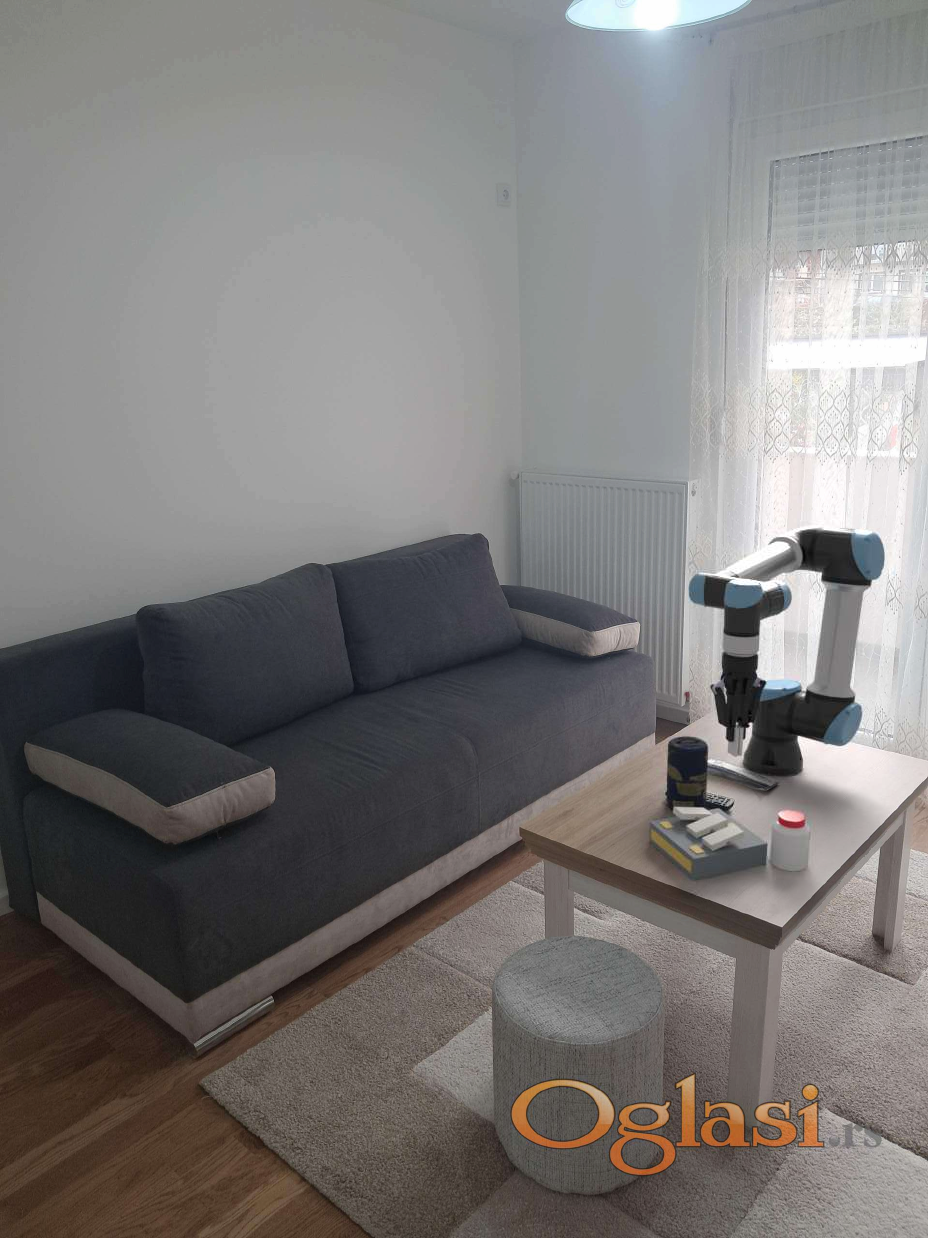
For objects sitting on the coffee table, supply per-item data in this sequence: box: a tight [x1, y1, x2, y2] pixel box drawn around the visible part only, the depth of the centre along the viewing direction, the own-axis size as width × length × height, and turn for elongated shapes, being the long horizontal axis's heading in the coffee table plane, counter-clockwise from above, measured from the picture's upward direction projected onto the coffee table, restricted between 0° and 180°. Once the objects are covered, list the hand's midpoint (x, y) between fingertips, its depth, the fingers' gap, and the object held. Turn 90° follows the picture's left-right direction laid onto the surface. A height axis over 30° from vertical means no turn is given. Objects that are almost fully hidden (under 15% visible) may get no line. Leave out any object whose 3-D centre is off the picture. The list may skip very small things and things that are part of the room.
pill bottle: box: [769, 809, 811, 872], centre depth 201 cm, size 8×8×11 cm
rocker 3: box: [702, 824, 744, 851], centre depth 200 cm, size 8×4×2 cm, turn 109°
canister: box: [665, 735, 709, 810], centre depth 226 cm, size 10×10×18 cm
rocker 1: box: [672, 807, 713, 821], centre depth 211 cm, size 8×4×2 cm, turn 110°
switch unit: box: [649, 807, 769, 881], centre depth 206 cm, size 18×18×5 cm
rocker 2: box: [686, 812, 728, 838], centre depth 205 cm, size 8×4×2 cm, turn 109°
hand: (734, 753), depth 208 cm, fingers closed
